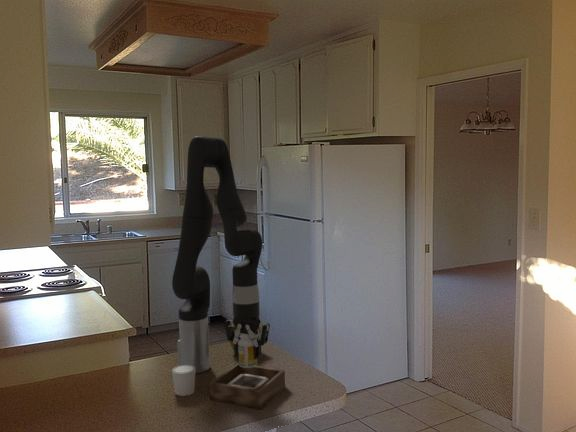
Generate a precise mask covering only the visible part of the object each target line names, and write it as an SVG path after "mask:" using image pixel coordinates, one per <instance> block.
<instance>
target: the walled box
mask: <svg viewBox="0 0 576 432" xmlns="http://www.w3.org/2000/svg"><path fill="white" fill-rule="evenodd" d="M285 372H286V370H284V369H278V368H273V367H272V368H271V367H266V366H260V365H259V366H258V365H256V366H255V367H252V368H242V367H240V366H239V362H237V363H235V364H234V365H233V366H231V367H230V368H229V369H227V370H226V371H224V372H223V373H221V374H220V375H219V376H217V377H216V378H214V379H213V380H211V382H209V400H210V401H215V402H220V403H222V404H230V405H233V406H240V407H245V408H250V409H255V410H262V409H263V408H264V407H265V406H266V405H267V404H268V403H269V402H271V400H272V399H273V398H274V397H276V396H277V395H278V394H279V393H280V392H281V391H282V390H283V389H284V388H286V376H285V374H286V373H285Z"/></svg>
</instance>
